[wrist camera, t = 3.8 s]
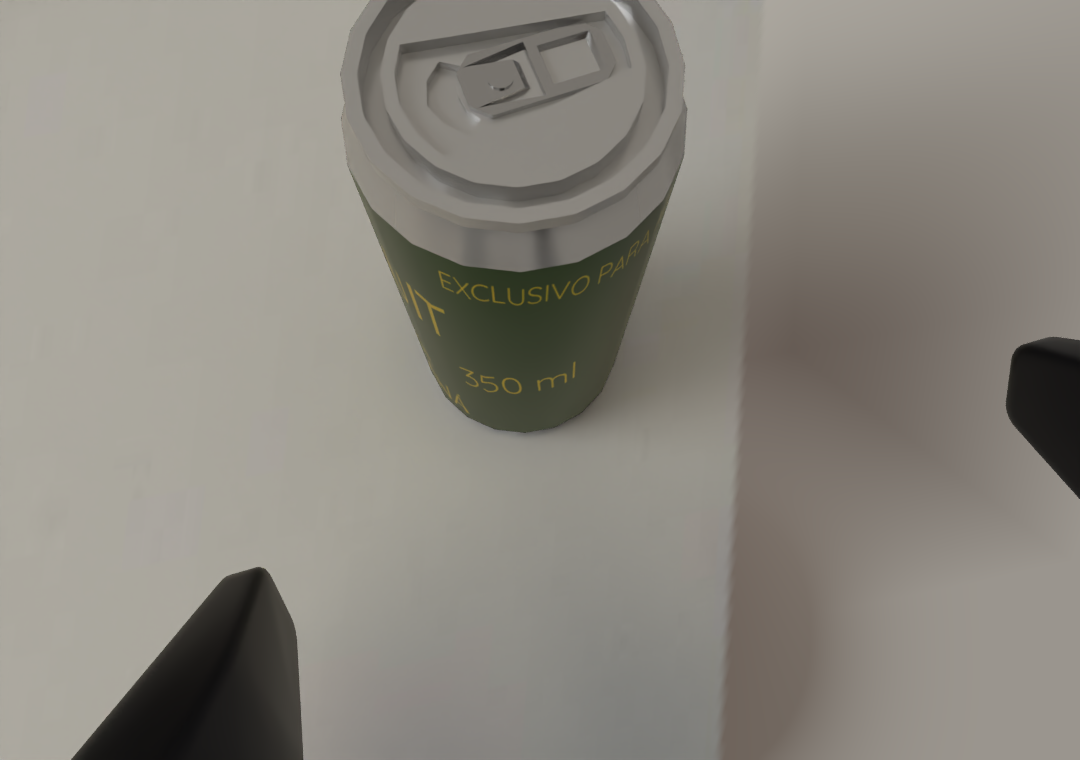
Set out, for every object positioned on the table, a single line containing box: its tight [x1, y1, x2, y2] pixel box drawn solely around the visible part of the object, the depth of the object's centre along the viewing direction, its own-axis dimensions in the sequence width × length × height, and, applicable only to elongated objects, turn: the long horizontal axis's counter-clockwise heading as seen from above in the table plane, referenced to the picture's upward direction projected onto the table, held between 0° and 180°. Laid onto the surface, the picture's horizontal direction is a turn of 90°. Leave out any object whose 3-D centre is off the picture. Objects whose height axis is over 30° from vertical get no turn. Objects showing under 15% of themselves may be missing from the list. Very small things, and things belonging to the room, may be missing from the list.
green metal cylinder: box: [340, 0, 687, 433], centre depth 17 cm, size 5×5×12 cm
